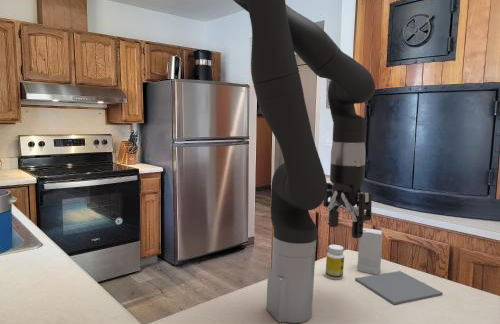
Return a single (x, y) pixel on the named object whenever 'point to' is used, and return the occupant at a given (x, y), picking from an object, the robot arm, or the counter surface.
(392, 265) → the counter surface
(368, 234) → the skincare box
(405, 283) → the slate mat
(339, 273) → the supplement bottle
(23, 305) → the counter surface
